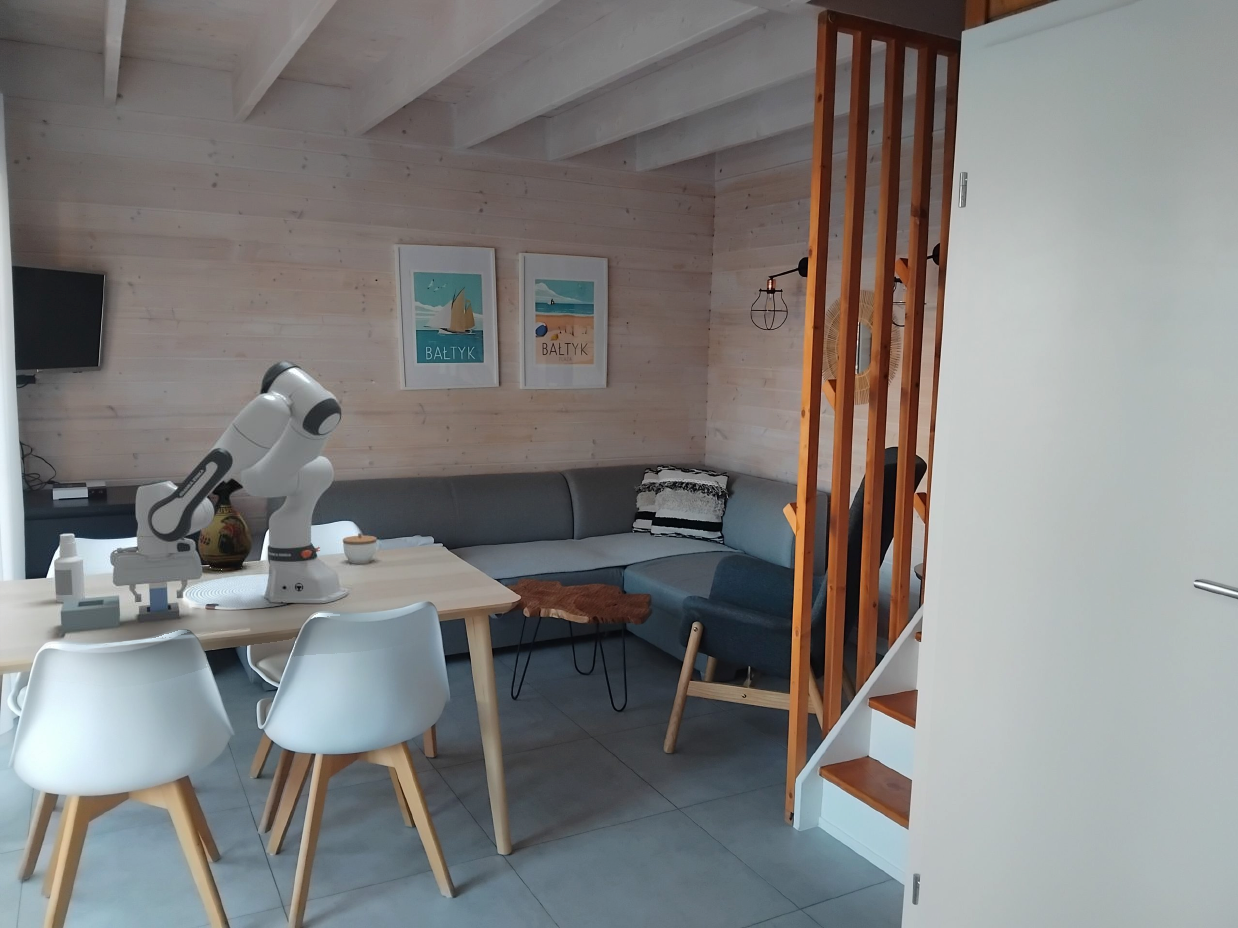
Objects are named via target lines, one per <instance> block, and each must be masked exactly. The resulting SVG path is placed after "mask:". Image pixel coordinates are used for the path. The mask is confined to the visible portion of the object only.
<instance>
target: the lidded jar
mask: <svg viewBox="0 0 1238 928" xmlns="http://www.w3.org/2000/svg"><path fill="white" fill-rule="evenodd" d="M357 534H358V535H351V536H347V537H344V538H343V539H342V543H343V544H342V545H343V552H344V555H345V558H346V559H347V560H348V561H350V563H351V564H357V565H358V564H369V563H370V562H371V560H372V559H373V558H374V556H376V552H377V542H378V541H377V540H378V539H377V537H376V536H372V535H362V533H357Z"/></svg>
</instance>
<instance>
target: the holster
mask: <svg viewBox="0 0 1238 928" xmlns="http://www.w3.org/2000/svg"><path fill="white" fill-rule="evenodd" d="M138 619H139V620H138V621H139V623H140V624H141V623H149V622H150V623H151V622H157V621H158V622H161V621H167V620H168V621H170V620H179V619H181V618H180V606H179V602H169V603H168V610H162V611H152V612H150V604H146V605H139V606H138Z"/></svg>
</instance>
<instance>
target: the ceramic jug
mask: <svg viewBox="0 0 1238 928" xmlns="http://www.w3.org/2000/svg"><path fill="white" fill-rule="evenodd" d="M241 489H244V488H243V486H242V483H241V484H240V482H239V481H237V480H235V479H234V478H233V477H231V478H230V479H228V481H227V482H226V481H225V480H224V481H222V482H221V483H220V484H218V485H217V486H216V487H215V488H214V489H213V491H212V492H211V493H212V495H213V496H217V501H216V503H215V505H214V503H213V501H212V499H211V497H210V494H209V495H208V496H207V498H208V499H209V500H210V501H211V502H212V504H213V506H214V511H215V514H214V519H213V521H212V523H211V524H210V525H209V526H208V527H206V528H204V529H203V530H200V531H199V537H198V550H199V551H198V552H199V556H200V558H201V559H203V561H204V562H205V563H206V564H207V565H208V569H209V570H212V569H216V570H215V571H219V570H221V569H222V570H226V571H238V570H240V568H241V567H242V568H244V567H243V564H244V562H245V561H246V559H247V558H248V556H249V555H250V554H251V550H252V545H253V544H252V537H251V533H250V530H249V528H248V527H249V526H248V525H247V524H246V522H245V520H244V519H243V517H242V516H241V515H240V513H239V512H238V511H237V509H236V508H235V507H234V506H233V504H232V502H231V499H230V496H231V495H233V493H235V492H237V491H240V490H241ZM209 567H211V568H209ZM242 568H241V569H242ZM226 571H225V572H226Z"/></svg>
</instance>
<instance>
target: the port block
mask: <svg viewBox="0 0 1238 928" xmlns="http://www.w3.org/2000/svg"><path fill="white" fill-rule="evenodd" d="M120 603H121V602H120V595H119V594H118V595H111V596H110V595H109V596H97V597H86V598H84V599H72V600H64V602H63V603H62V607H61V608H60V622H61V623H60V626H61V629H60V630H61V637H65V636H66V633H71V632H79V631H81V632H82V631H91V630H100V629H111V628H118V627H120V622H121V621H120V619H121V610H120V609H121V607H120Z"/></svg>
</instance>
